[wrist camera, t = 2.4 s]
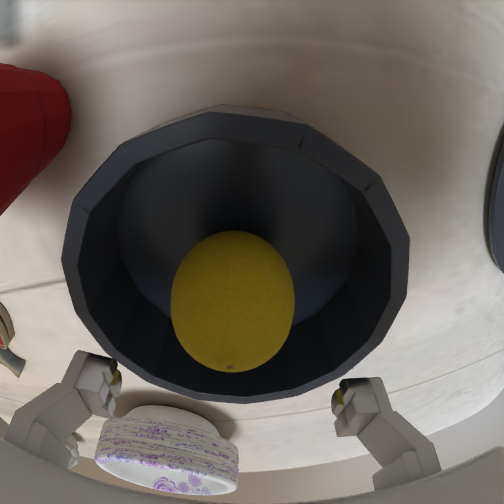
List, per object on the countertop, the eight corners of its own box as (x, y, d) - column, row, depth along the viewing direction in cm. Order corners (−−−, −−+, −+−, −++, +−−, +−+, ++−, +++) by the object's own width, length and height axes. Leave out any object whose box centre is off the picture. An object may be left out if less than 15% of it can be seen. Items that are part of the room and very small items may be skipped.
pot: (104, 101, 13) (43, 114, 8) (400, 138, 14) (458, 167, 9) (123, 325, 21) (101, 382, 16) (327, 346, 22) (341, 404, 17)
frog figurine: (65, 437, 37) (56, 467, 31) (44, 418, 34) (32, 451, 28) (91, 444, 37) (82, 476, 31) (70, 425, 33) (59, 461, 27)
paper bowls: (168, 450, 34) (162, 497, 28) (86, 398, 27) (67, 454, 21) (262, 436, 31) (264, 494, 24) (181, 375, 24) (168, 457, 17)
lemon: (223, 302, 19) (212, 414, 12) (168, 237, 16) (121, 344, 9) (301, 264, 17) (328, 378, 11) (252, 186, 15) (256, 283, 8)
